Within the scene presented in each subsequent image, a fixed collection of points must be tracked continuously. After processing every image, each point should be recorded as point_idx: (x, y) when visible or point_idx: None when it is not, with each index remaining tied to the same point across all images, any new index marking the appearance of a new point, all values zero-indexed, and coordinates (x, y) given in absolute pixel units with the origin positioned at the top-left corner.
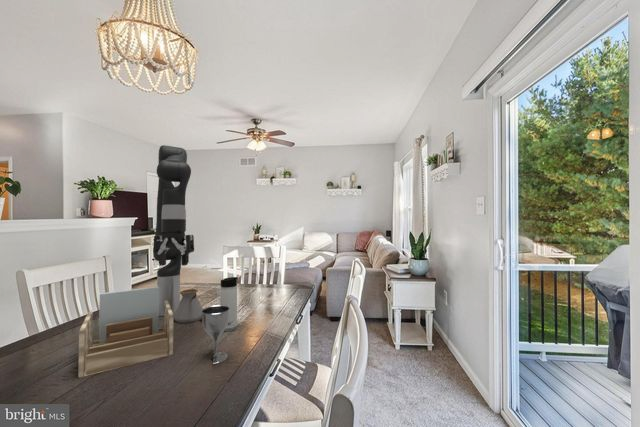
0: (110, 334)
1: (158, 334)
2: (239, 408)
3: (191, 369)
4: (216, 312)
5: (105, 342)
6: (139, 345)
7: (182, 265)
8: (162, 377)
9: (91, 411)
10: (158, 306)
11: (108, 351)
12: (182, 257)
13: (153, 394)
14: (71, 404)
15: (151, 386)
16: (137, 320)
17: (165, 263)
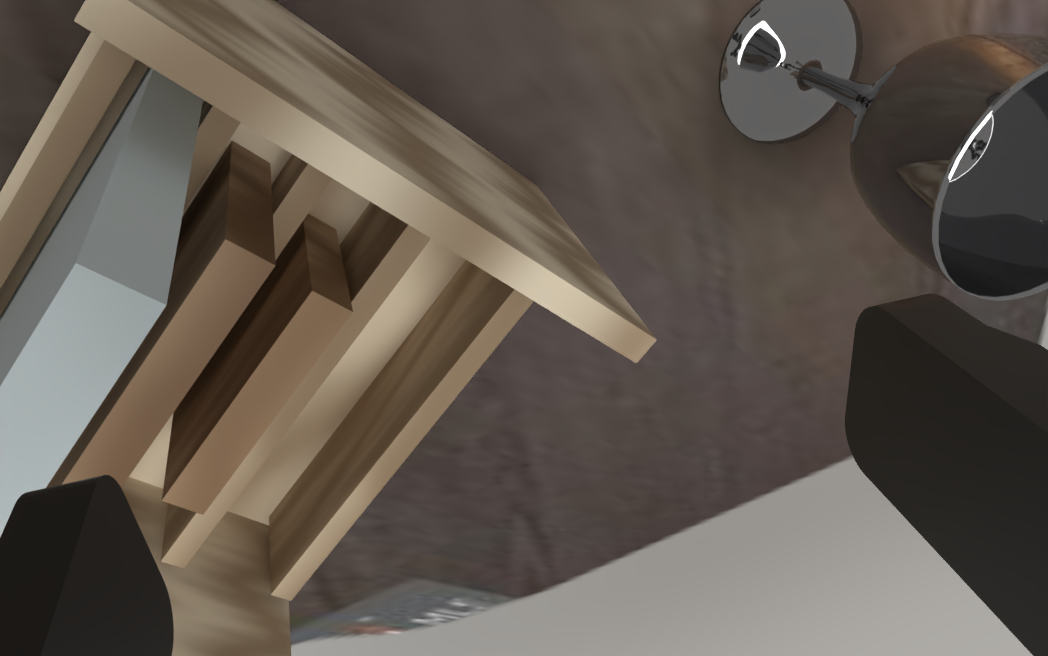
0: (176, 501)
1: (415, 250)
2: (1030, 332)
3: (721, 221)
4: (971, 67)
5: None
6: (447, 406)
7: (860, 430)
8: None
9: (543, 555)
10: (186, 180)
11: (348, 527)
12: (1040, 614)
13: (683, 417)
14: (427, 576)
15: (632, 392)
16: (201, 366)
17: (104, 514)
